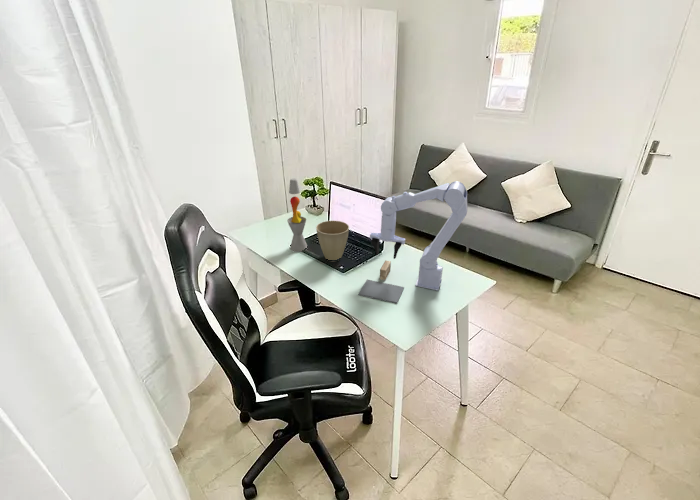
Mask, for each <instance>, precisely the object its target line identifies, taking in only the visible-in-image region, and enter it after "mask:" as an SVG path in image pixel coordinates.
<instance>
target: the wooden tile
mask: <svg viewBox="0 0 700 500" xmlns="http://www.w3.org/2000/svg"><path fill="white" fill-rule="evenodd" d="M391 266H392V261H390V260H384V261H383V264H382V266H381V268H380V269H379V280H382V281H386V280H387V278H388V276H389V275H390V272H391Z"/></svg>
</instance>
